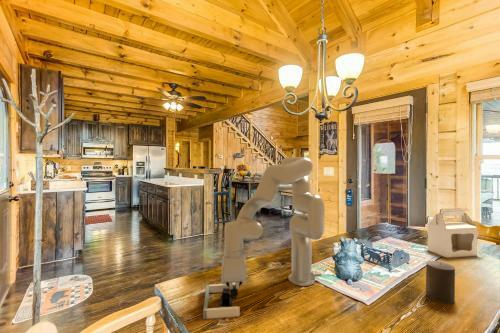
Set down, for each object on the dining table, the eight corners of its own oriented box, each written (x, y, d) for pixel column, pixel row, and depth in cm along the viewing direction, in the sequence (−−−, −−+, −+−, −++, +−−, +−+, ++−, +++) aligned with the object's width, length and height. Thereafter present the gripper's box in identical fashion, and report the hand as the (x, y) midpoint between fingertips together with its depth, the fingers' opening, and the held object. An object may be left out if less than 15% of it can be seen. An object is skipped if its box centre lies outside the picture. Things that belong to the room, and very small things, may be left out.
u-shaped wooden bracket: (236, 289, 111) (236, 283, 111) (239, 316, 92) (239, 308, 92) (206, 291, 110) (206, 284, 110) (203, 318, 90) (203, 310, 90)
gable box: (446, 257, 148) (446, 211, 148) (427, 250, 161) (427, 207, 161) (477, 255, 152) (477, 210, 151) (456, 248, 165) (456, 206, 164)
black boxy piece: (233, 310, 97) (233, 298, 96) (214, 310, 97) (214, 298, 97) (235, 293, 109) (235, 283, 109) (219, 293, 109) (219, 283, 109)
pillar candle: (447, 306, 98) (448, 268, 98) (420, 294, 107) (421, 259, 107) (459, 300, 102) (460, 264, 102) (433, 289, 111) (433, 256, 111)
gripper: (251, 248, 106) (251, 291, 106) (215, 250, 104) (215, 293, 104) (253, 255, 98) (253, 301, 98) (215, 256, 96) (215, 303, 97)
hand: (234, 297), depth 101 cm, fingers closed
